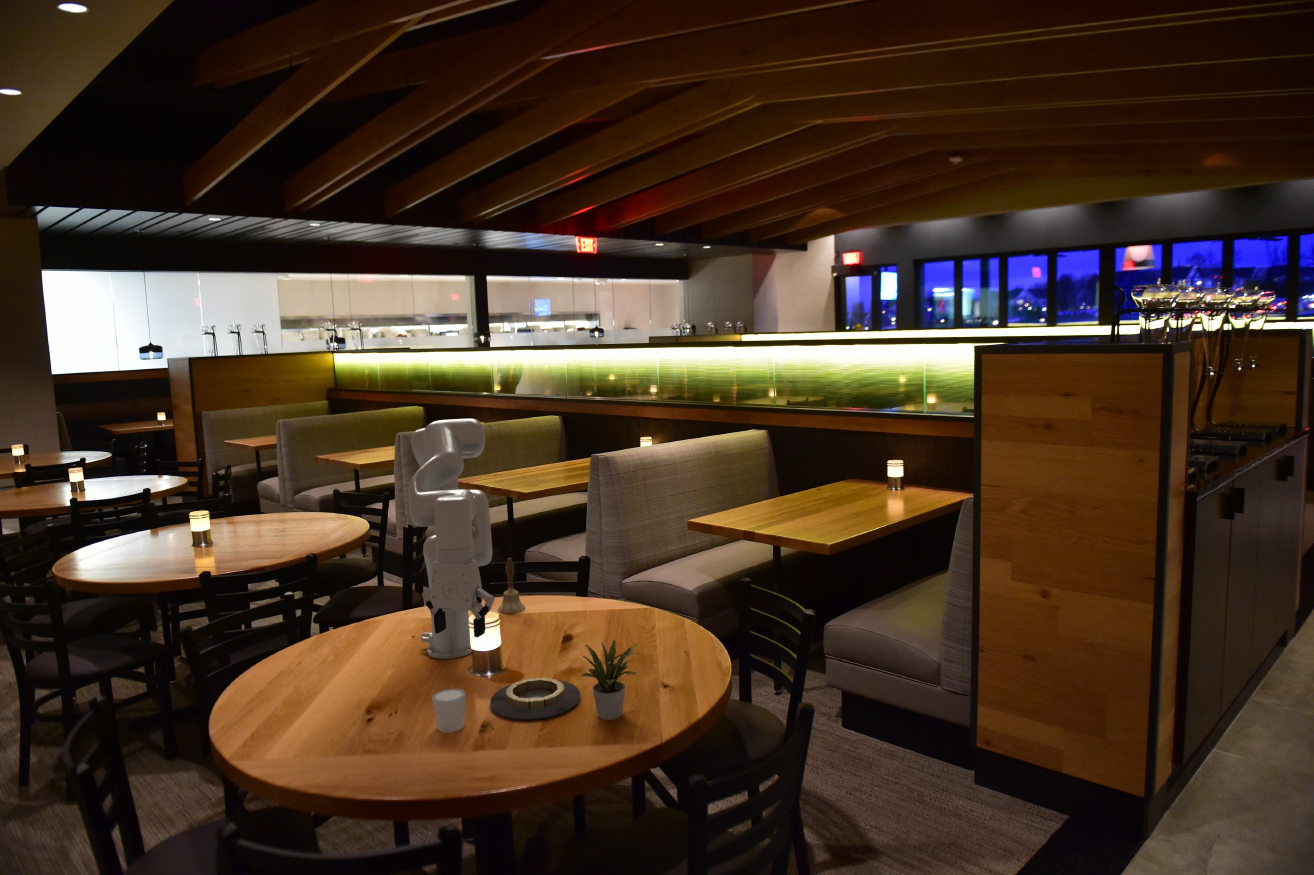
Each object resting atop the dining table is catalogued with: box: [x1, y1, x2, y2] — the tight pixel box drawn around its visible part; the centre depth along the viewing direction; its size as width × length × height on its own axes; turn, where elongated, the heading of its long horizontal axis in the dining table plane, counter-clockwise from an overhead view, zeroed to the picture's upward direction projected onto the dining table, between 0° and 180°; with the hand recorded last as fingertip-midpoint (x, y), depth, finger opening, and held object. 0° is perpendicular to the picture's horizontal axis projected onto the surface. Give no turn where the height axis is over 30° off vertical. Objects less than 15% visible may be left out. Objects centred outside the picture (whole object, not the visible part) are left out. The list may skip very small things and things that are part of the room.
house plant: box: [579, 639, 641, 721], centre depth 180 cm, size 14×14×16 cm
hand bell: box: [497, 557, 526, 614], centre depth 256 cm, size 8×8×16 cm
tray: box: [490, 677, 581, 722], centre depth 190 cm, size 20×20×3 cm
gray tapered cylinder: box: [431, 688, 467, 734], centre depth 179 cm, size 7×7×7 cm
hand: (460, 633), depth 179 cm, fingers open, 9 cm apart
